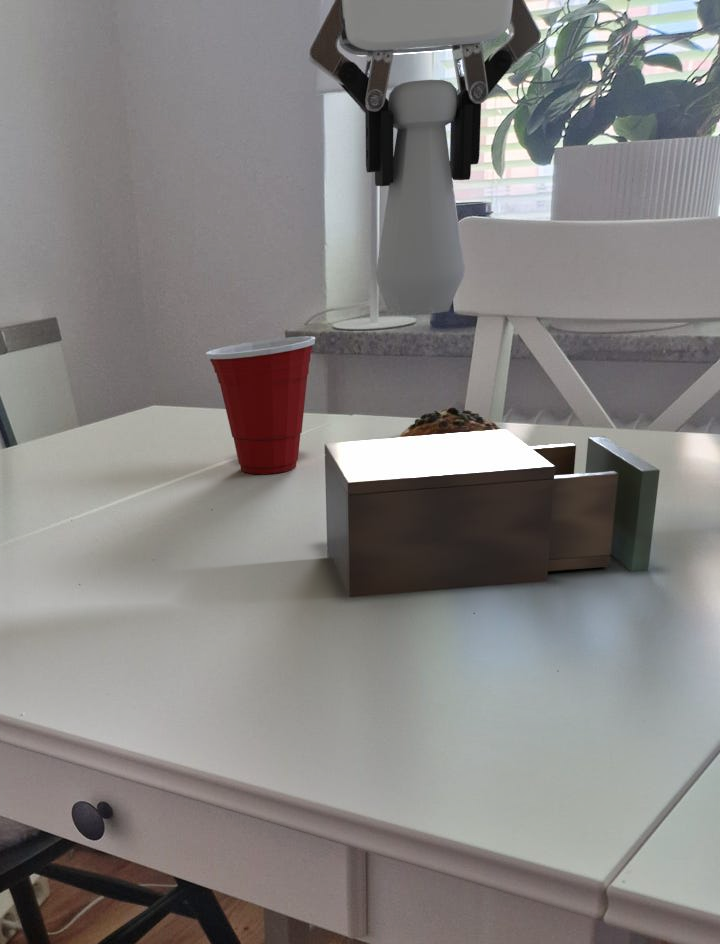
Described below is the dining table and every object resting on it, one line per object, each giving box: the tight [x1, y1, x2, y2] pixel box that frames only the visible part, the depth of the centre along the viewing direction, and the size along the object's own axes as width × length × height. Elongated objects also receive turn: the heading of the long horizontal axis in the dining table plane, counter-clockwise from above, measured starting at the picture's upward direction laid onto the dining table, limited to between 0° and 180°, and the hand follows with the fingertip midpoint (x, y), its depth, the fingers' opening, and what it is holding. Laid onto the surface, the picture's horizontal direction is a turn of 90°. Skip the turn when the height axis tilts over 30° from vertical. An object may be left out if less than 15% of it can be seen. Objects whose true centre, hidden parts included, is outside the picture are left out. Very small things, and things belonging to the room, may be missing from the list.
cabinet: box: [324, 429, 555, 598], centre depth 83 cm, size 14×13×9 cm
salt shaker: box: [375, 79, 466, 316], centre depth 75 cm, size 6×6×13 cm
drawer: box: [529, 435, 661, 573], centre depth 83 cm, size 14×11×7 cm
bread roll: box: [399, 406, 501, 438], centre depth 119 cm, size 11×11×5 cm
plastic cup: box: [205, 335, 316, 475], centre depth 115 cm, size 11×11×12 cm
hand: (421, 179), depth 74 cm, fingers closed on salt shaker, 4 cm apart
